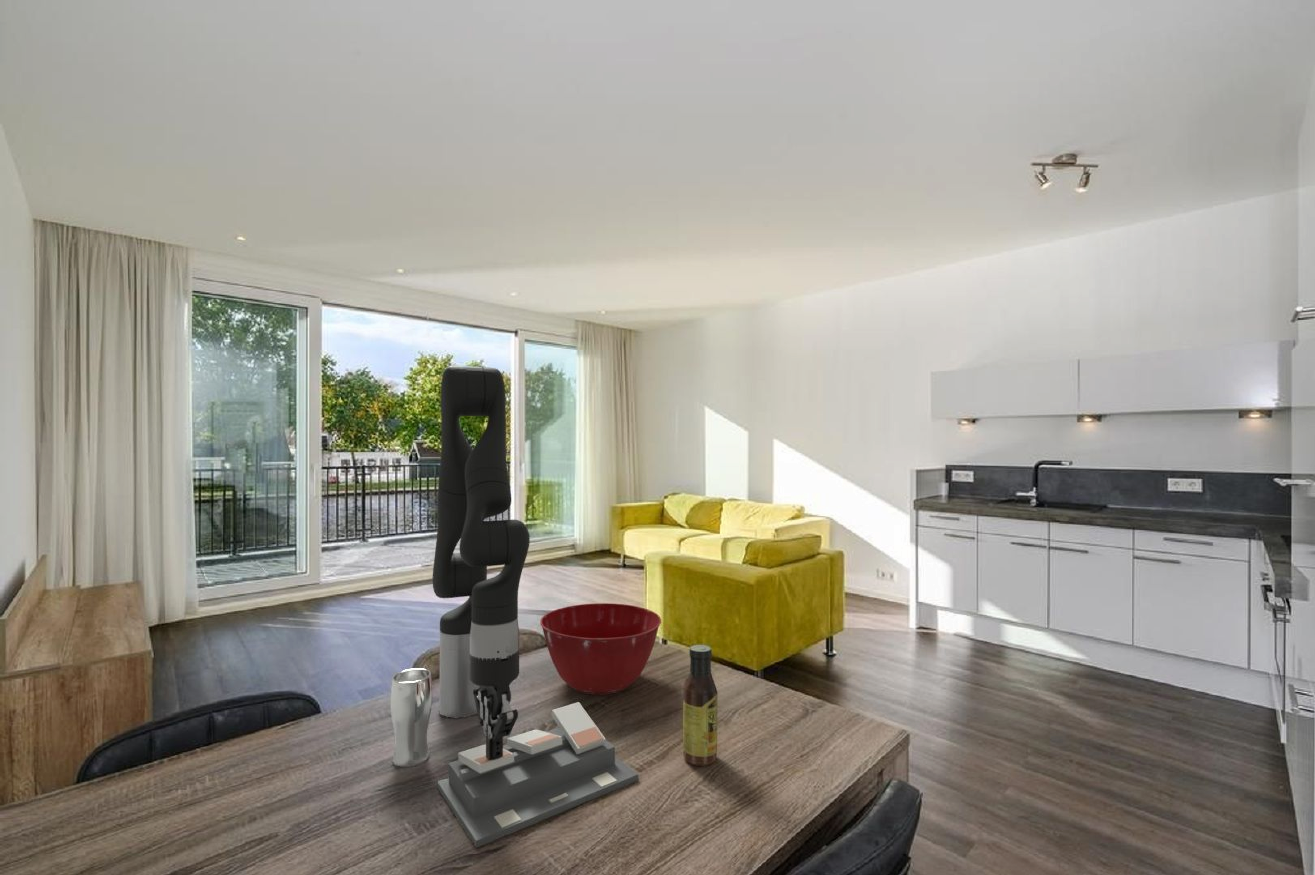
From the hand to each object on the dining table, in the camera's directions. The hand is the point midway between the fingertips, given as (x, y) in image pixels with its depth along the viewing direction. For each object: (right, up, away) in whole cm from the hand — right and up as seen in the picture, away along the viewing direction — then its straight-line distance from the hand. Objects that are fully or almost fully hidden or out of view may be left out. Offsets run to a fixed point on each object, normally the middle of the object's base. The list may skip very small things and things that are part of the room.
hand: (494, 759), depth 93 cm
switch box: (+6, -8, +7) cm, 12 cm away
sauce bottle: (+33, -8, +15) cm, 37 cm away
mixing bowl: (+12, -8, +48) cm, 50 cm away
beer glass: (-19, -8, +14) cm, 25 cm away
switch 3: (+11, -1, +13) cm, 17 cm away
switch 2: (+4, -1, +8) cm, 9 cm away
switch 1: (-2, -1, +3) cm, 4 cm away
